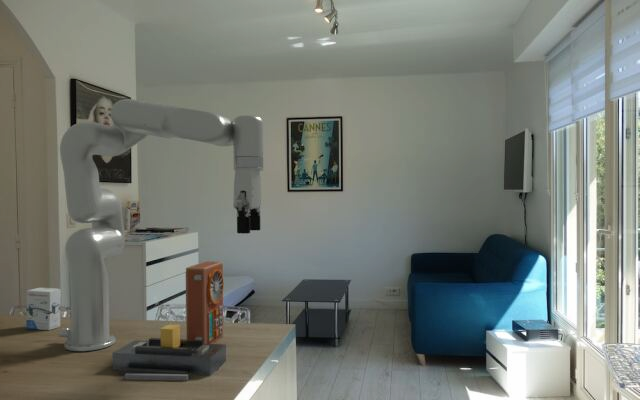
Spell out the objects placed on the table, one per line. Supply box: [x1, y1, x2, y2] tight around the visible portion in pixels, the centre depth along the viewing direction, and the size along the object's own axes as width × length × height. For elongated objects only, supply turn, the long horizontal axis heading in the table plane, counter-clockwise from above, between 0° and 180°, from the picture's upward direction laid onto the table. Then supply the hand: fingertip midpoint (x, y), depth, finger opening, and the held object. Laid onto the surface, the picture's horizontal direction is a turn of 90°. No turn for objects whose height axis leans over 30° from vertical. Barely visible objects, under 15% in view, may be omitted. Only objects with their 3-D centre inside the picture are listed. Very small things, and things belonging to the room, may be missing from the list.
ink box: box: [25, 287, 62, 331], centre depth 155 cm, size 9×5×12 cm, turn 77°
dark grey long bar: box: [117, 367, 187, 376], centre depth 114 cm, size 16×1×1 cm, turn 81°
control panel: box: [184, 260, 224, 344], centre depth 139 cm, size 21×7×15 cm
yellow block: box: [160, 324, 181, 347], centre depth 121 cm, size 3×4×5 cm
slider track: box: [112, 337, 227, 376], centre depth 121 cm, size 24×10×5 cm, turn 81°
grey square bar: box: [124, 373, 189, 382], centre depth 112 cm, size 14×1×1 cm, turn 87°
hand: (249, 231), depth 130 cm, fingers open, 9 cm apart
